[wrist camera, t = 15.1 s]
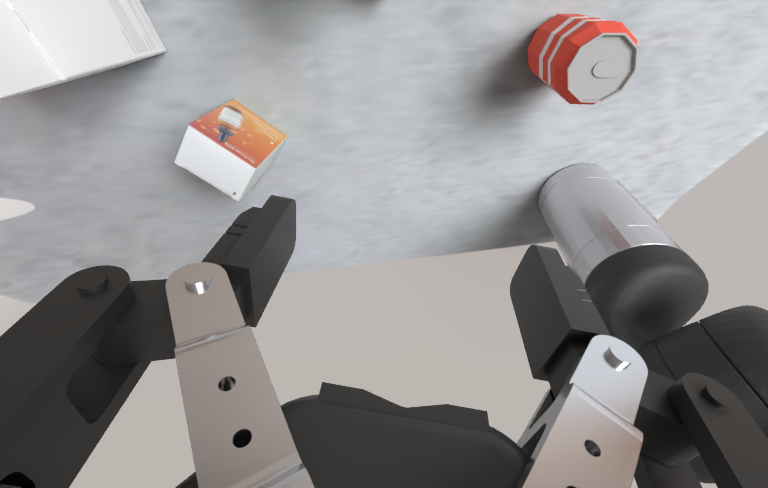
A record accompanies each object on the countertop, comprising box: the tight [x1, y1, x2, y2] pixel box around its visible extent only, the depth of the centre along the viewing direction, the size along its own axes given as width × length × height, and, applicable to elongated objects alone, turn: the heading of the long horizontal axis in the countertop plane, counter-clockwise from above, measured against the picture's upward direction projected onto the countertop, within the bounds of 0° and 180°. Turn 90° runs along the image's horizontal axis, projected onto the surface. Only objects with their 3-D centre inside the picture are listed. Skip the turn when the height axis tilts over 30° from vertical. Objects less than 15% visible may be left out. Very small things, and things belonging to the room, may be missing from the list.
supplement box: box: [0, 0, 166, 99], centre depth 33 cm, size 9×9×15 cm
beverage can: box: [527, 14, 639, 104], centre depth 32 cm, size 6×6×12 cm
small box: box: [174, 99, 287, 202], centre depth 42 cm, size 8×6×10 cm
